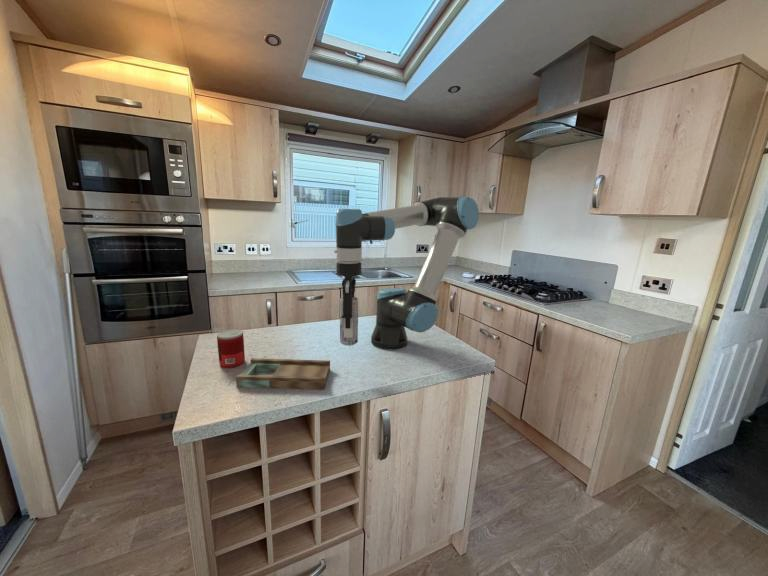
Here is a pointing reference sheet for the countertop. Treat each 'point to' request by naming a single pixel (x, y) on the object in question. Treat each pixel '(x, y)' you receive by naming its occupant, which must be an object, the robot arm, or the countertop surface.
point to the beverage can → (355, 323)
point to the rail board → (285, 374)
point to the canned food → (231, 348)
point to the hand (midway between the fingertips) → (349, 333)
